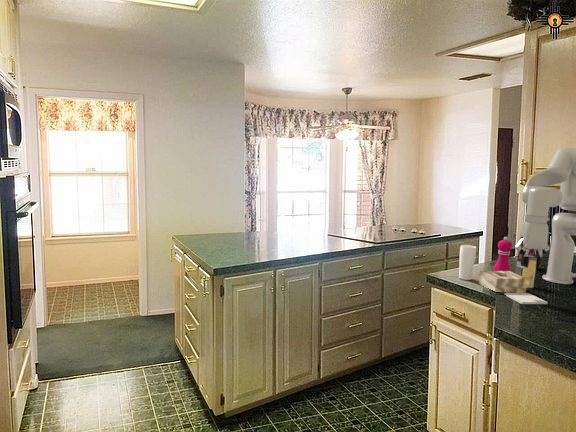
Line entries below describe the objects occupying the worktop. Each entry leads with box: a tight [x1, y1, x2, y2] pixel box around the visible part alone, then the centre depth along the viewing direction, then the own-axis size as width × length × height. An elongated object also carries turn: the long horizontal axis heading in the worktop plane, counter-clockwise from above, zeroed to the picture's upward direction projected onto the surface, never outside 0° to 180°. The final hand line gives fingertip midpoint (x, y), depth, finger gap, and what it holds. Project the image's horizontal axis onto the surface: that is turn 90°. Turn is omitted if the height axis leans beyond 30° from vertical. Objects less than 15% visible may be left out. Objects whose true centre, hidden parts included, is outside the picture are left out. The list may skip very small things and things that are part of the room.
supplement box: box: [516, 247, 535, 269], centre depth 241 cm, size 9×5×16 cm, turn 111°
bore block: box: [478, 270, 527, 293], centre depth 200 cm, size 14×12×6 cm
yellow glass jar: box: [521, 255, 537, 289], centre depth 185 cm, size 4×4×12 cm
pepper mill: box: [492, 236, 513, 272], centre depth 213 cm, size 7×7×20 cm
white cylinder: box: [458, 244, 477, 281], centre depth 211 cm, size 7×7×15 cm
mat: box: [503, 292, 549, 305], centre depth 187 cm, size 11×11×1 cm
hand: (529, 265), depth 184 cm, fingers closed on yellow glass jar, 4 cm apart
